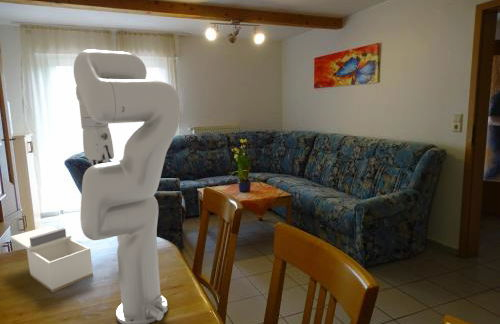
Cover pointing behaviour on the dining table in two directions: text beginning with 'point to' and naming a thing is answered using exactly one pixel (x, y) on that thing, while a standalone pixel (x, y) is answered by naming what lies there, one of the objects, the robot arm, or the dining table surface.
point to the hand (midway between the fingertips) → (100, 181)
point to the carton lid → (40, 237)
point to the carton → (60, 264)
